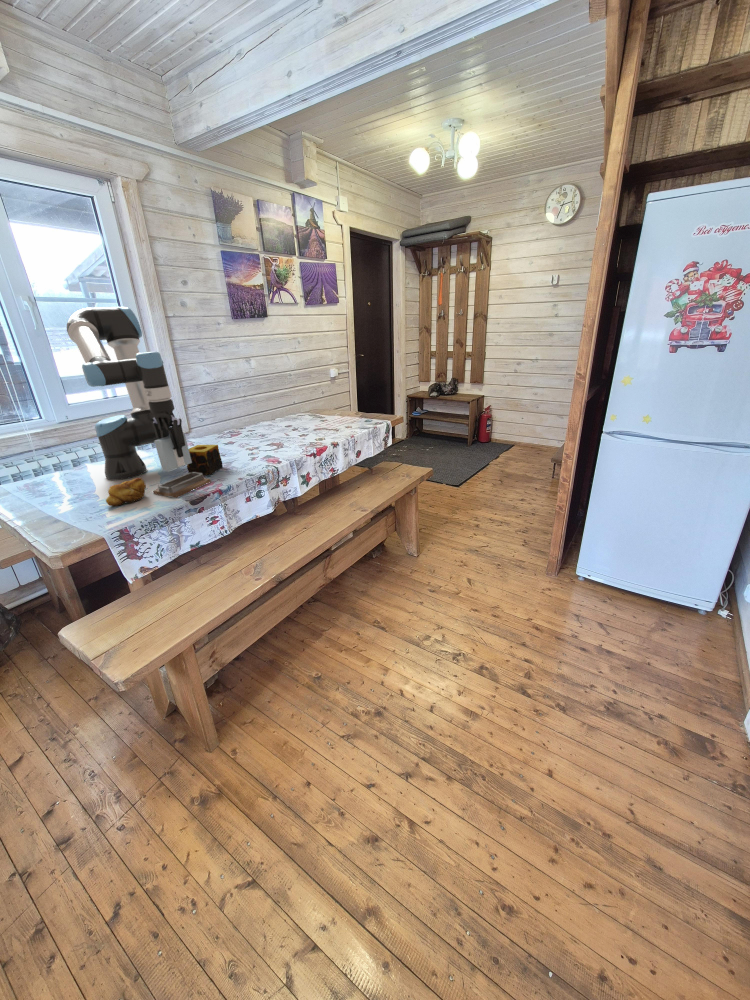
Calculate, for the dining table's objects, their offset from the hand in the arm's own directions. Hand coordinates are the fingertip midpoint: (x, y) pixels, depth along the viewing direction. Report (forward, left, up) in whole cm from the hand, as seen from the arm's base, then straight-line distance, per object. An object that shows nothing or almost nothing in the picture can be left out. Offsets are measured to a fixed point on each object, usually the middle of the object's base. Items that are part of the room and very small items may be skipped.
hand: (177, 464), depth 151 cm
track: (0, 0, -9) cm, 9 cm away
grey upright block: (0, 0, -1) cm, 1 cm away
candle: (-6, +17, -9) cm, 21 cm away
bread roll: (-10, -16, -9) cm, 21 cm away
